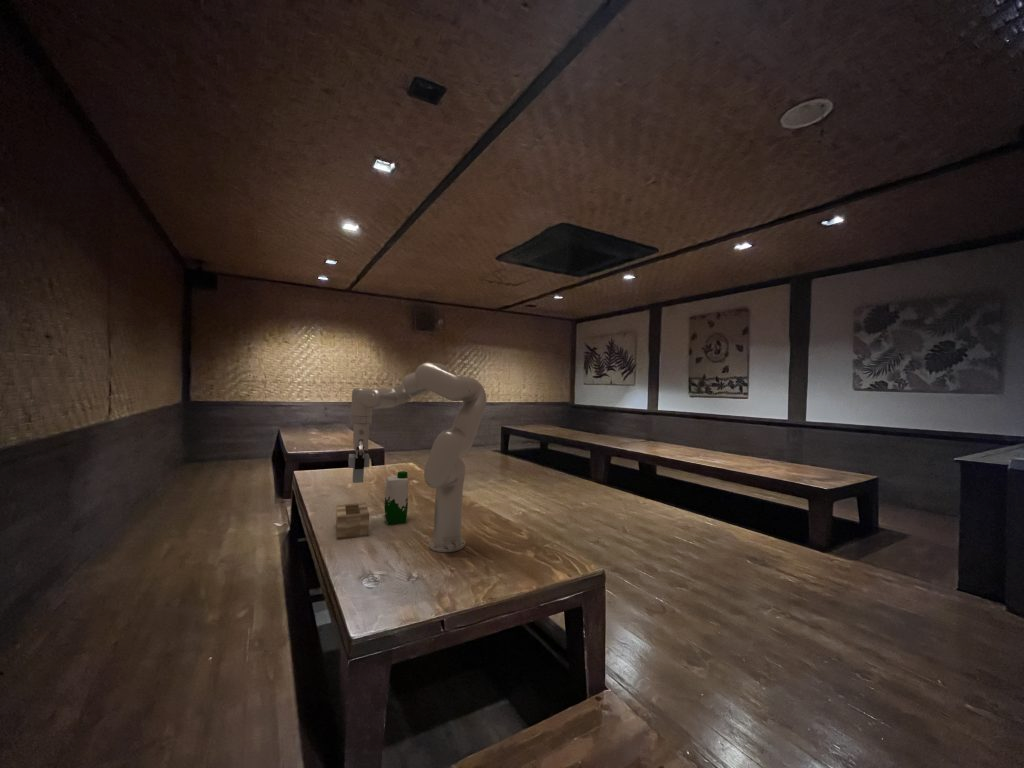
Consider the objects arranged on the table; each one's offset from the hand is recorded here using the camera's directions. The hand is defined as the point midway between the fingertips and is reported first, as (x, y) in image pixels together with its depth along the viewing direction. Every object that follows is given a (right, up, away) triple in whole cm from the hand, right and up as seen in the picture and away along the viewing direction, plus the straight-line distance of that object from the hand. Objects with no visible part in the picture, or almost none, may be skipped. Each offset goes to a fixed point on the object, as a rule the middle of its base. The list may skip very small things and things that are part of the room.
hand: (358, 466), depth 150 cm
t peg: (0, -6, 0) cm, 6 cm away
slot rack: (-3, -25, 0) cm, 25 cm away
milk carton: (+11, -25, +12) cm, 30 cm away
